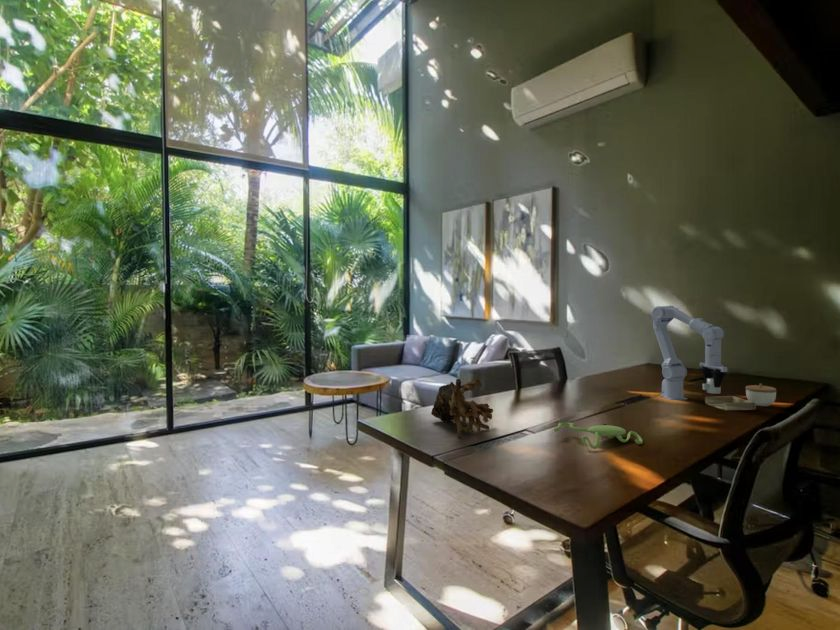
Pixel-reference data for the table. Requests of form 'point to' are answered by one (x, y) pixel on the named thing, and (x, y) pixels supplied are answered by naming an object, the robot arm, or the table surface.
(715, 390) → the jug
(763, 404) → the lidded jar
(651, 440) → the table surface
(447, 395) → the decorative coral sculpture
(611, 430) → the figurine
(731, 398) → the beige shallow tray
